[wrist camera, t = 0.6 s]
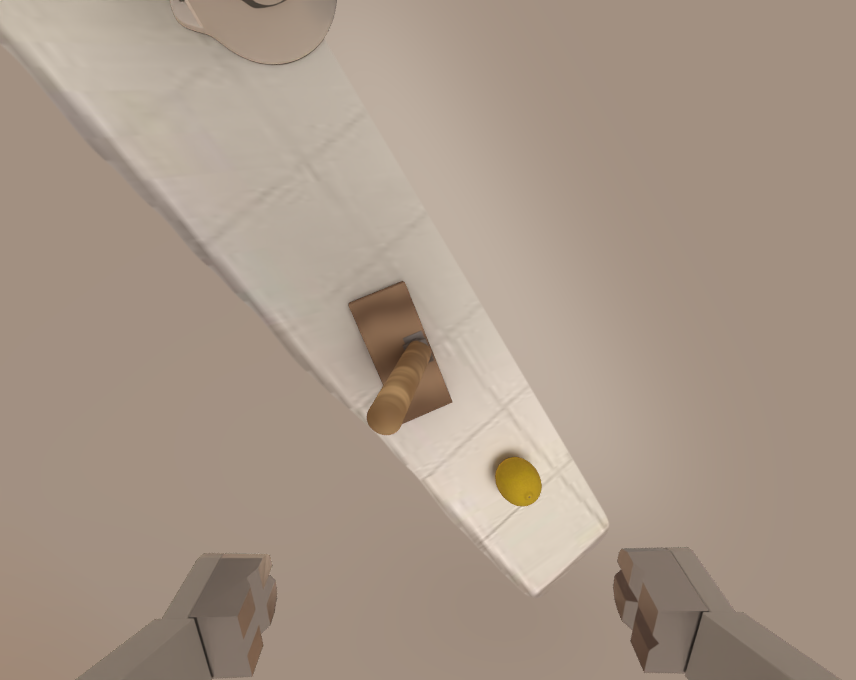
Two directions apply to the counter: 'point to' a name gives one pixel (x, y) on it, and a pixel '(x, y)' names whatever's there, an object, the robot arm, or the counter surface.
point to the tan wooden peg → (399, 388)
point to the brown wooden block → (398, 343)
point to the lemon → (518, 481)
